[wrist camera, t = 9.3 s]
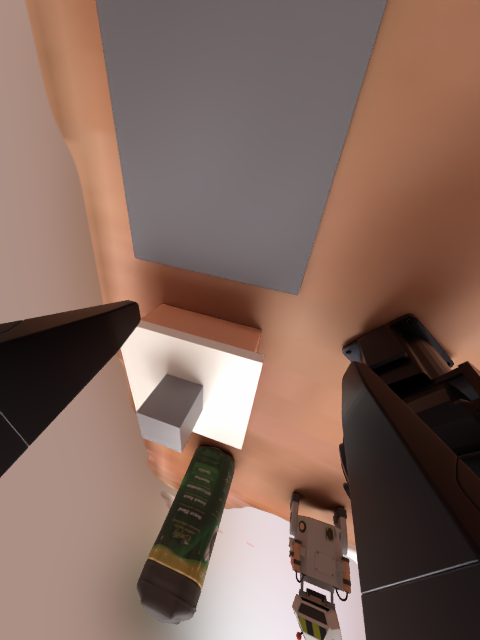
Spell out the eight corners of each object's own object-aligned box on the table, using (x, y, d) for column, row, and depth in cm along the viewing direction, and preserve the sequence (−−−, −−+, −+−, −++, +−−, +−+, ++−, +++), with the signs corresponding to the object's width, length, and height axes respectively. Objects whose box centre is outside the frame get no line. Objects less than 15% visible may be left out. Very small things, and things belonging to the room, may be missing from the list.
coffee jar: (195, 438, 39) (120, 599, 23) (236, 451, 37) (184, 634, 22) (198, 464, 44) (138, 609, 28) (234, 476, 42) (192, 639, 27)
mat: (431, -149, 9) (436, -163, 8) (298, 293, 19) (297, 295, 19) (84, -110, 11) (77, -119, 11) (137, 257, 22) (134, 258, 22)
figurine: (287, 511, 43) (278, 638, 31) (294, 486, 37) (286, 630, 25) (334, 527, 41) (344, 670, 29) (349, 504, 35) (370, 671, 23)
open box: (261, 329, 23) (251, 360, 18) (246, 399, 29) (235, 433, 25) (162, 303, 25) (132, 325, 20) (168, 374, 31) (146, 402, 27)
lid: (264, 355, 18) (249, 411, 13) (243, 441, 25) (228, 495, 21) (121, 314, 20) (67, 350, 16) (141, 404, 28) (108, 446, 23)
